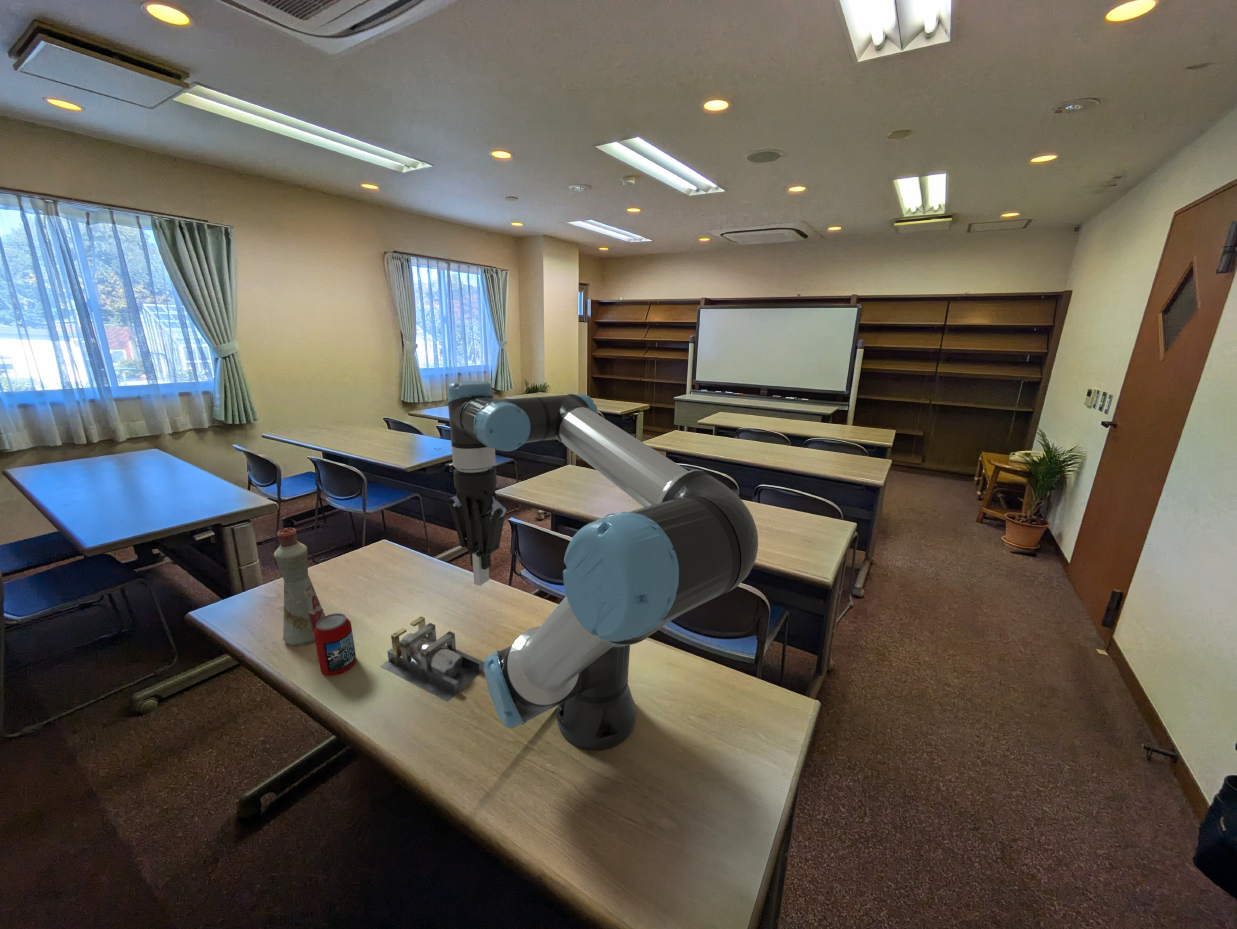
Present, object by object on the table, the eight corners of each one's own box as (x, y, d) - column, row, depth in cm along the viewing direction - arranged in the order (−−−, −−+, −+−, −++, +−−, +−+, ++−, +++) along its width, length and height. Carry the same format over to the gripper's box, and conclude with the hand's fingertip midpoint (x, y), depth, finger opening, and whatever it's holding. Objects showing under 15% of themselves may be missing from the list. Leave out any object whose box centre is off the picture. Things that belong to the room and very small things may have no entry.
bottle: (281, 634, 110) (259, 526, 102) (325, 620, 116) (307, 516, 108) (286, 653, 104) (264, 539, 96) (332, 637, 110) (315, 529, 102)
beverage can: (340, 682, 96) (332, 633, 93) (313, 676, 98) (304, 627, 94) (364, 660, 103) (357, 613, 99) (337, 655, 104) (330, 609, 101)
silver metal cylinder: (464, 666, 100) (460, 649, 98) (446, 684, 96) (442, 666, 94) (418, 645, 106) (414, 628, 104) (400, 661, 102) (395, 643, 100)
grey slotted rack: (489, 668, 102) (488, 636, 99) (447, 705, 91) (444, 671, 89) (425, 639, 110) (422, 609, 108) (380, 670, 100) (376, 637, 98)
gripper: (516, 466, 86) (520, 580, 92) (461, 457, 91) (469, 566, 97) (490, 477, 79) (496, 599, 85) (432, 466, 84) (442, 582, 90)
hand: (481, 581), depth 91 cm, fingers closed
